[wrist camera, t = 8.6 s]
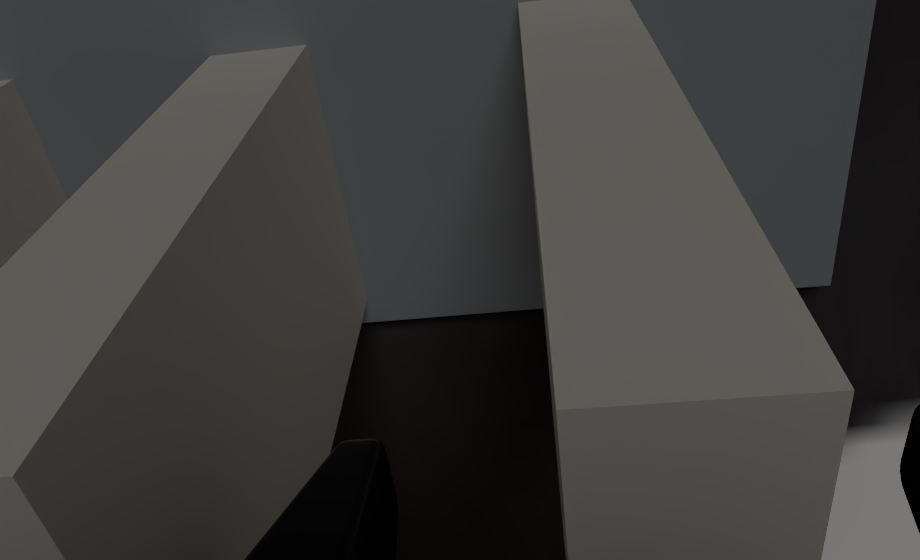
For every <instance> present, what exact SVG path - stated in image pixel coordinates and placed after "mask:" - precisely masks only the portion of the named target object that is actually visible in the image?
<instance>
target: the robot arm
mask: <svg viewBox="0 0 920 560" xmlns="http://www.w3.org/2000/svg"><path fill="white" fill-rule="evenodd" d="M900 474H901V481H902V486H903V489H904V492H905V495H906V497H907V500H908V503H909V506H910V508H911V511H912V514H913V516H914V519H915V522H916V525H917V528H918V530H919V533H920V405H918V406H917V408H916V409H915V410H914V413H913V415H912V419H911V423H910V427H909V431H908V435H907V439H906V443H905V447H904V451H903V455H902V458H901V464H900ZM397 522H398V506H397V496H396V491H395V487H394V483H393V479H392V475H391V471H390V467H389V463H388V459H387V455H386V451H385V448H384V445H383V444H382V442H381V441H380V440H378V439H376V438H370V439H356V440H345V441H342V442H341V443H339V444H338V445H337V446H336V447H335V448H334V449H333V451H332V452H331V453H330V454H329V456H328V457H327V458H326V459H325V461H324V462H323V463H322V464H321V465H320V467H319V468H318V469H317V470H316V472H315V473H314V474H313V475H312V477H311V478H310V479H309V480H308V481H307V483H306V484H305V485H304V486H303V488H302V489H301V490H300V491H299V493H298V494H297V495H296V496H295V498H294V499H293V500H292V501H291V502H290V504H289V505H288V506H287V507H286V509H285V510H284V511H283V512H282V514H281V515H280V516H279V517H278V518H277V520H276V521H275V522H274V523H273V525H272V526H271V527H270V528H269V530H268V531H267V532H266V533H265V534H264V536H263V537H262V538H261V539H260V541H259V542H258V543H257V544H256V546H255V547H254V548H253V549H252V550H251V552H250V553H249V554H248V555H247V557H246V558H245V559H244V560H396V546H397Z"/></svg>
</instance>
